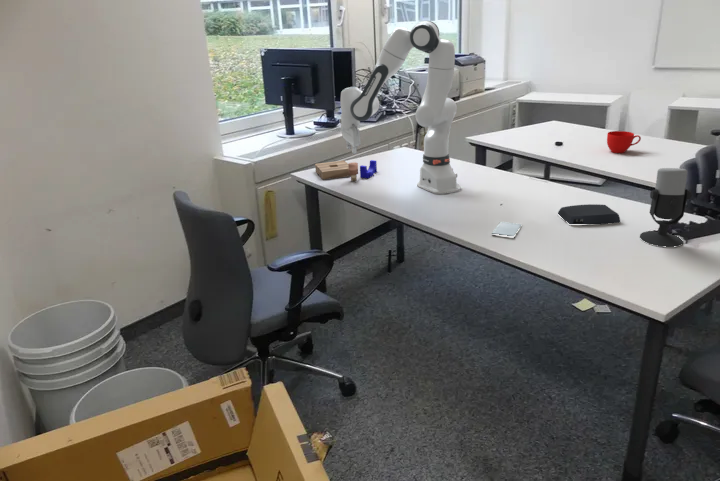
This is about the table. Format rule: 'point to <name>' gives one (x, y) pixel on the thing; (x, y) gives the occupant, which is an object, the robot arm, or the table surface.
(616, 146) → the ceramic cup
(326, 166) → the board
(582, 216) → the external hard drive
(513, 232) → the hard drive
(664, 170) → the microphone
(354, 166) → the peg
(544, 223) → the table surface
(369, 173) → the cable clip
